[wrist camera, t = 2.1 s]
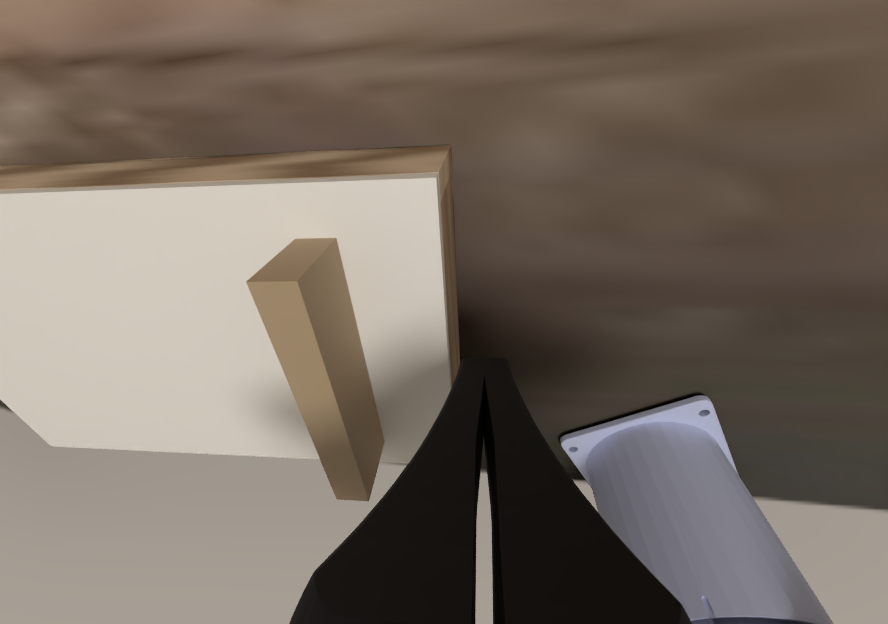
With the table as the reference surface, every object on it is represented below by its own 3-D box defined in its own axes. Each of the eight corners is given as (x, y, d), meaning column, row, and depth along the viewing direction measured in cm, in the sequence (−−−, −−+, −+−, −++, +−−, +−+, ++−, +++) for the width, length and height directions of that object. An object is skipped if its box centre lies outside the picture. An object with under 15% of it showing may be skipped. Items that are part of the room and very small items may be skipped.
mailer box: (451, 144, 13) (438, 172, 9) (460, 382, 19) (456, 453, 16) (-21, 167, 15) (-184, 196, 11) (133, 374, 22) (62, 435, 18)
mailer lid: (438, 173, 9) (422, 209, 7) (455, 455, 16) (450, 527, 13) (-188, 197, 11) (-381, 232, 9) (60, 437, 18) (-8, 496, 15)
